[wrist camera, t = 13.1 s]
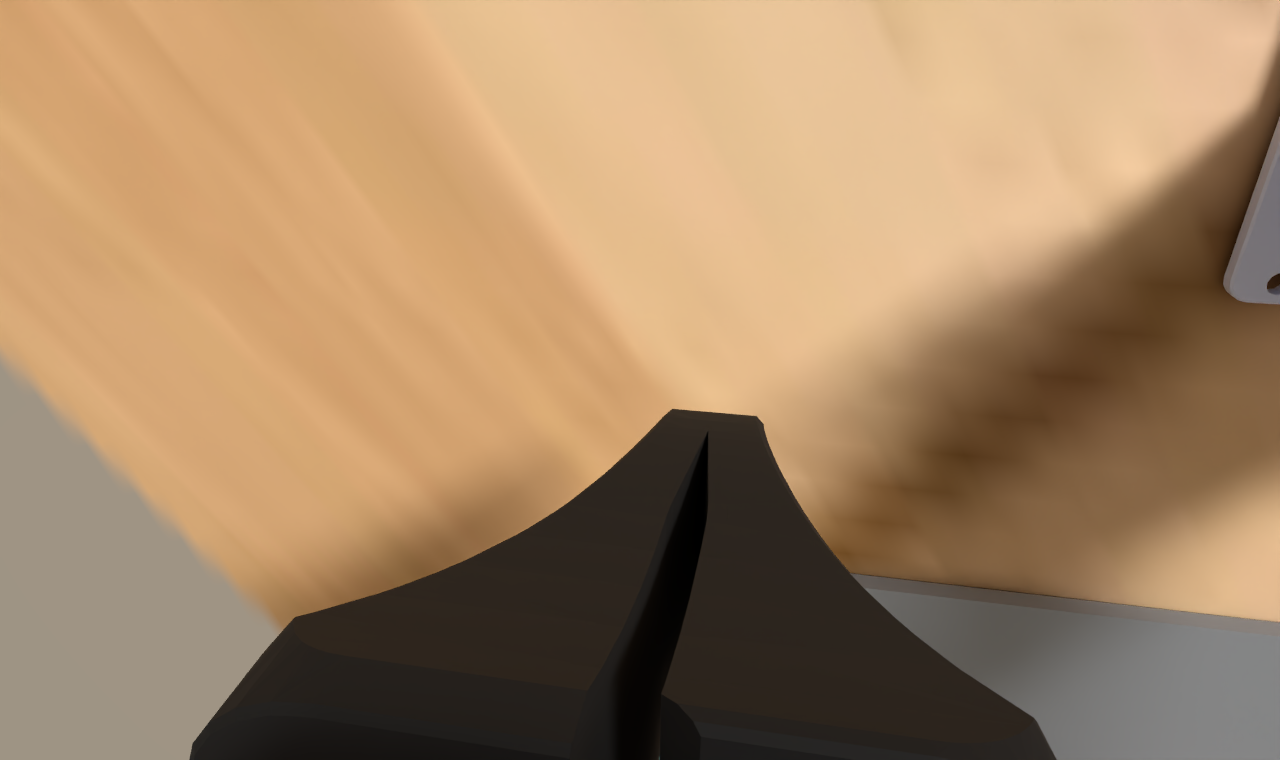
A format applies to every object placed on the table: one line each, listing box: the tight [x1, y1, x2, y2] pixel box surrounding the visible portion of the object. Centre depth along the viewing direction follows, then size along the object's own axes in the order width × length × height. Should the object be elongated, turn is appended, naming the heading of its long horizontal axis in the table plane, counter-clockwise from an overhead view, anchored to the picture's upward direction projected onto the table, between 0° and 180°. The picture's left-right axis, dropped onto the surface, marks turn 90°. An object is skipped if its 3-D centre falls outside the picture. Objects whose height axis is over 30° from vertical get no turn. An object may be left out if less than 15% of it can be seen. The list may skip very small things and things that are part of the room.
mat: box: [850, 573, 1280, 760], centre depth 26 cm, size 22×13×1 cm, turn 90°
